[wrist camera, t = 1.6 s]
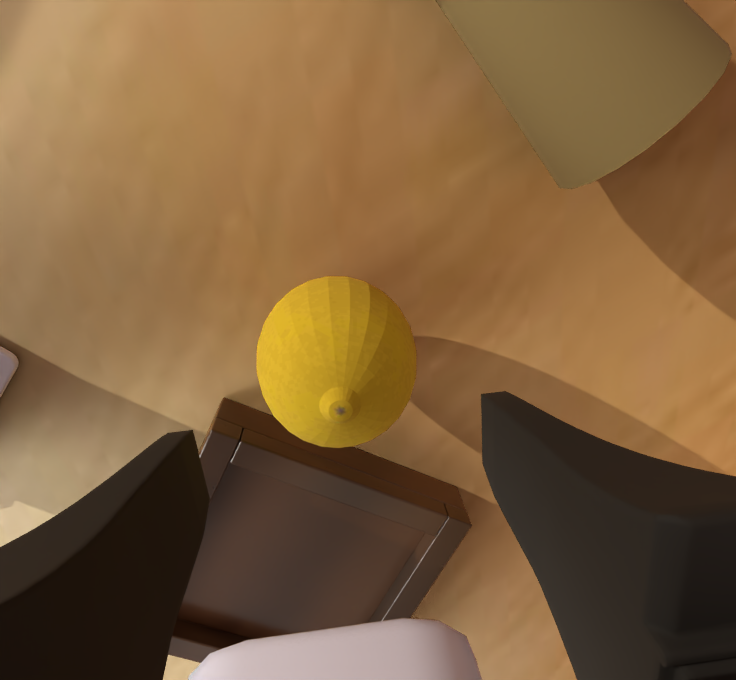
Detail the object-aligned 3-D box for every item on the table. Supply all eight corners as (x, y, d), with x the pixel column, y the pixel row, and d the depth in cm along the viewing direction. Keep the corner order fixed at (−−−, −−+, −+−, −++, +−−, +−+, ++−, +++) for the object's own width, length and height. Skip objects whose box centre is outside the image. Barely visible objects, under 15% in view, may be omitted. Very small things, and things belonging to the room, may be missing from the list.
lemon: (413, 270, 22) (461, 339, 14) (382, 389, 24) (410, 505, 16) (280, 242, 21) (256, 300, 13) (258, 368, 23) (227, 480, 15)
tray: (136, 592, 26) (115, 641, 24) (223, 396, 23) (210, 429, 20) (350, 653, 29) (353, 703, 27) (457, 486, 26) (472, 525, 23)
